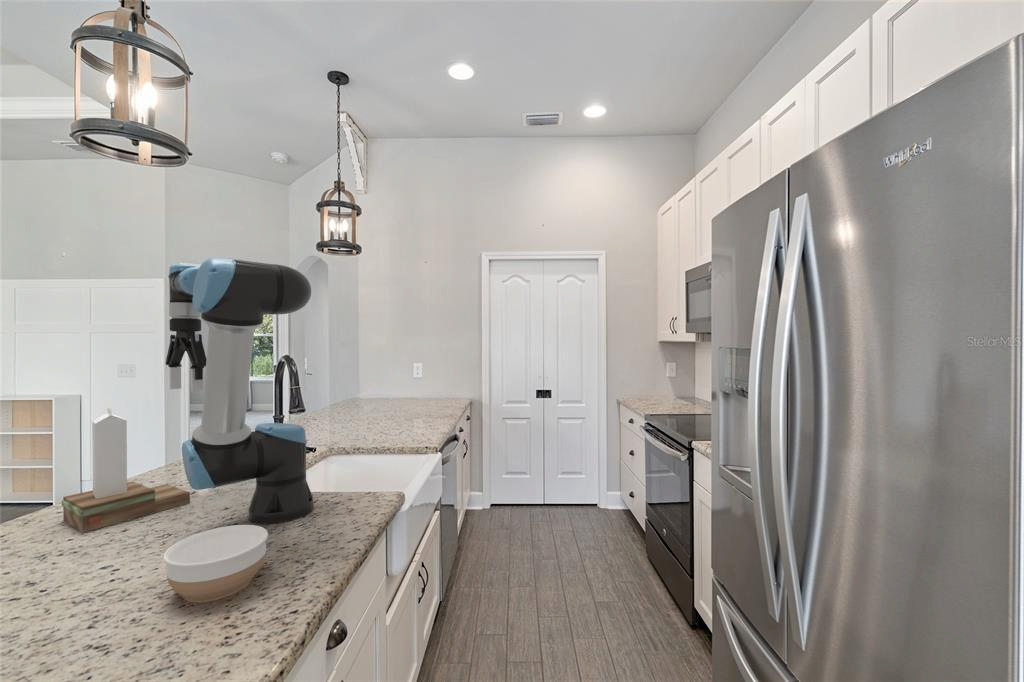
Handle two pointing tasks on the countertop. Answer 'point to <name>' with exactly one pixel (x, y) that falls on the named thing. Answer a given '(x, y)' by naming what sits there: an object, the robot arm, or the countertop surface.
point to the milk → (109, 455)
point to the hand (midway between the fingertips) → (186, 390)
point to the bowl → (215, 562)
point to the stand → (120, 505)
